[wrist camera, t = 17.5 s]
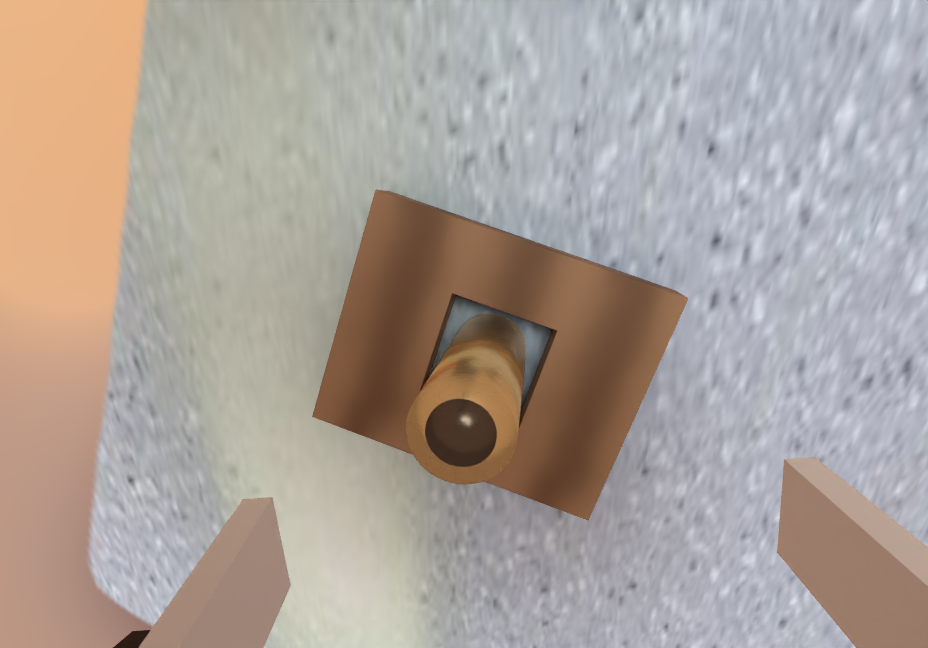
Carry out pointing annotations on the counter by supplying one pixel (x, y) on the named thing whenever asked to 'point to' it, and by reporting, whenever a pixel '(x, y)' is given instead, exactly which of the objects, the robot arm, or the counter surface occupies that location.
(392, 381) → the walnut jig plate
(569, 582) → the counter surface
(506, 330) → the brass bushing
